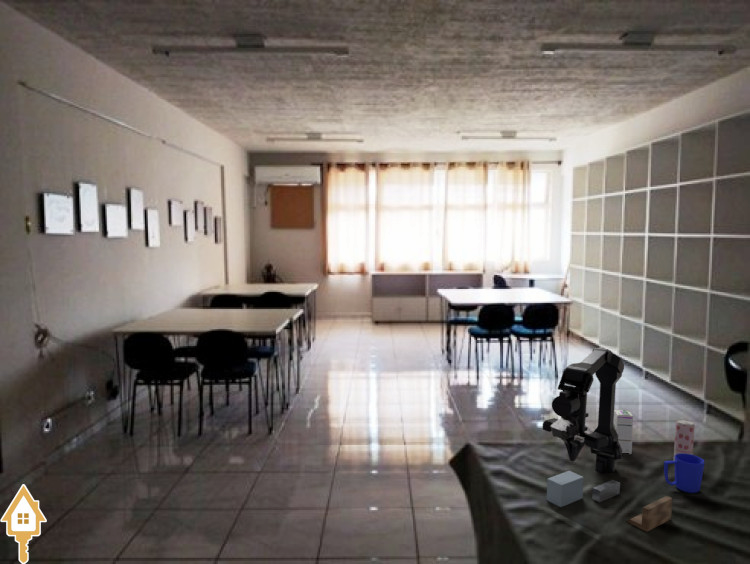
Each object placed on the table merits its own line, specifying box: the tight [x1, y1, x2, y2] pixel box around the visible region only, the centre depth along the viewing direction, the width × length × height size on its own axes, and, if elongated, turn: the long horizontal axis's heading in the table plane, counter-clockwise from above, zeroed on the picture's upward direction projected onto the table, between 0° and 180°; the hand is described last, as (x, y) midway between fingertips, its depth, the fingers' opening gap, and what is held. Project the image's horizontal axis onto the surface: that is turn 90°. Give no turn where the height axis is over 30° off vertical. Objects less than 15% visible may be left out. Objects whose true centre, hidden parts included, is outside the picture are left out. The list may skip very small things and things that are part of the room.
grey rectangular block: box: [591, 479, 621, 503], centre depth 165 cm, size 10×2×4 cm, turn 124°
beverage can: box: [672, 418, 695, 461], centre depth 192 cm, size 6×6×15 cm
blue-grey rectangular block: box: [546, 470, 584, 508], centre depth 163 cm, size 10×5×8 cm, turn 124°
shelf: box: [625, 495, 673, 533], centre depth 163 cm, size 12×28×6 cm, turn 34°
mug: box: [663, 453, 705, 494], centre depth 173 cm, size 8×12×10 cm
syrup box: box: [613, 409, 634, 455], centre depth 203 cm, size 6×6×14 cm
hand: (572, 461), depth 163 cm, fingers closed
